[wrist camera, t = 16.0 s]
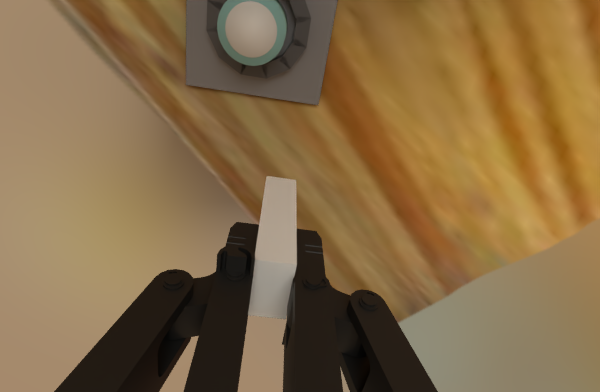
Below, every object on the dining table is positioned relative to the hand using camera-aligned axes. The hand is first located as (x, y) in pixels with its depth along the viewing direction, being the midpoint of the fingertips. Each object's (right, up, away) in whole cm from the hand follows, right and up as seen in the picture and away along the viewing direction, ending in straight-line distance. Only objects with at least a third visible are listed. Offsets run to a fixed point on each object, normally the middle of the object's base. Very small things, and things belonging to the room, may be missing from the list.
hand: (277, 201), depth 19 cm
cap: (-3, +19, +22) cm, 29 cm away
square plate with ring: (-3, +20, +23) cm, 30 cm away
